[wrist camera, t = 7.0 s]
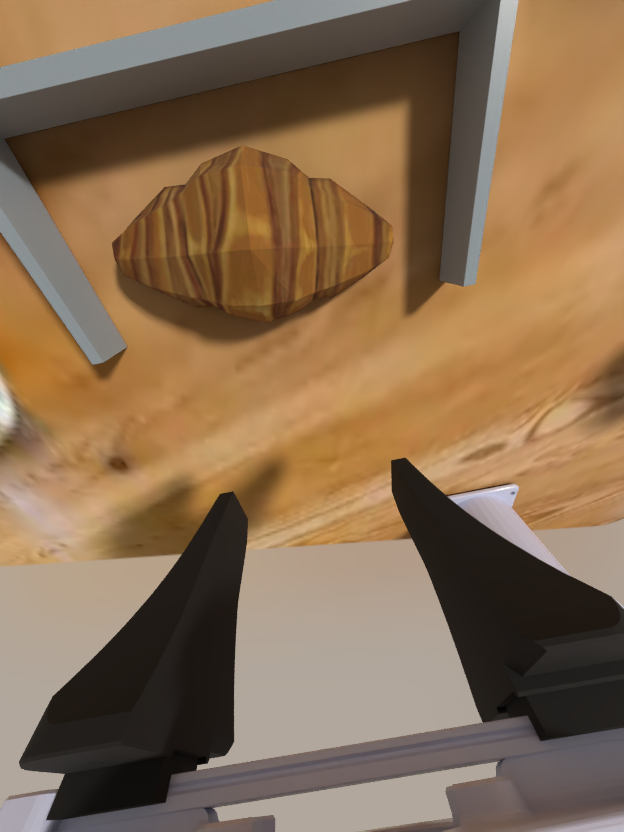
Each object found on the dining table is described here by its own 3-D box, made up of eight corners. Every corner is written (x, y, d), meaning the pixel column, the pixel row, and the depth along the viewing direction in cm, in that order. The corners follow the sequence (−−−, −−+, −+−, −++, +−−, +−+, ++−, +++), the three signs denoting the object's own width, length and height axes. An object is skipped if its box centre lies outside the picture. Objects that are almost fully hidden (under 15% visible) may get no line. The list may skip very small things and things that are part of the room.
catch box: (449, 278, 15) (475, 283, 13) (117, 348, 16) (92, 364, 14) (477, 1, 10) (527, -62, 8) (-23, 121, 11) (-98, 91, 8)
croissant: (391, 153, 12) (445, 107, 8) (379, 305, 16) (412, 326, 12) (97, 167, 12) (-4, 125, 8) (154, 322, 16) (108, 351, 11)
